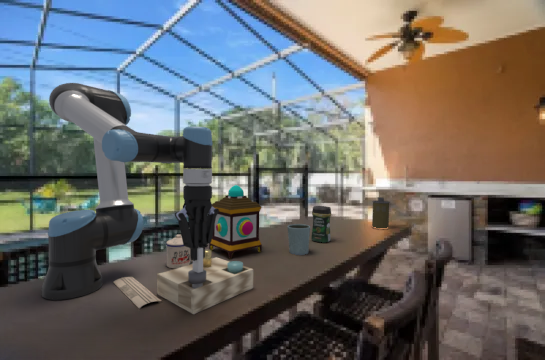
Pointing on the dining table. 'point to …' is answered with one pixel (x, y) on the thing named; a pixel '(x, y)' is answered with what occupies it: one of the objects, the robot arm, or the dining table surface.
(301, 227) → the blue cup
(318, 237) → the coffee jar
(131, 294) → the newspaper
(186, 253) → the teacup with lid
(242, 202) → the decorative lantern
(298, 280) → the dining table surface
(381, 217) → the canister
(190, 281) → the grey knob
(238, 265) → the teal knob
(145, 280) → the dining table surface
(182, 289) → the mount
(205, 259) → the brass post
